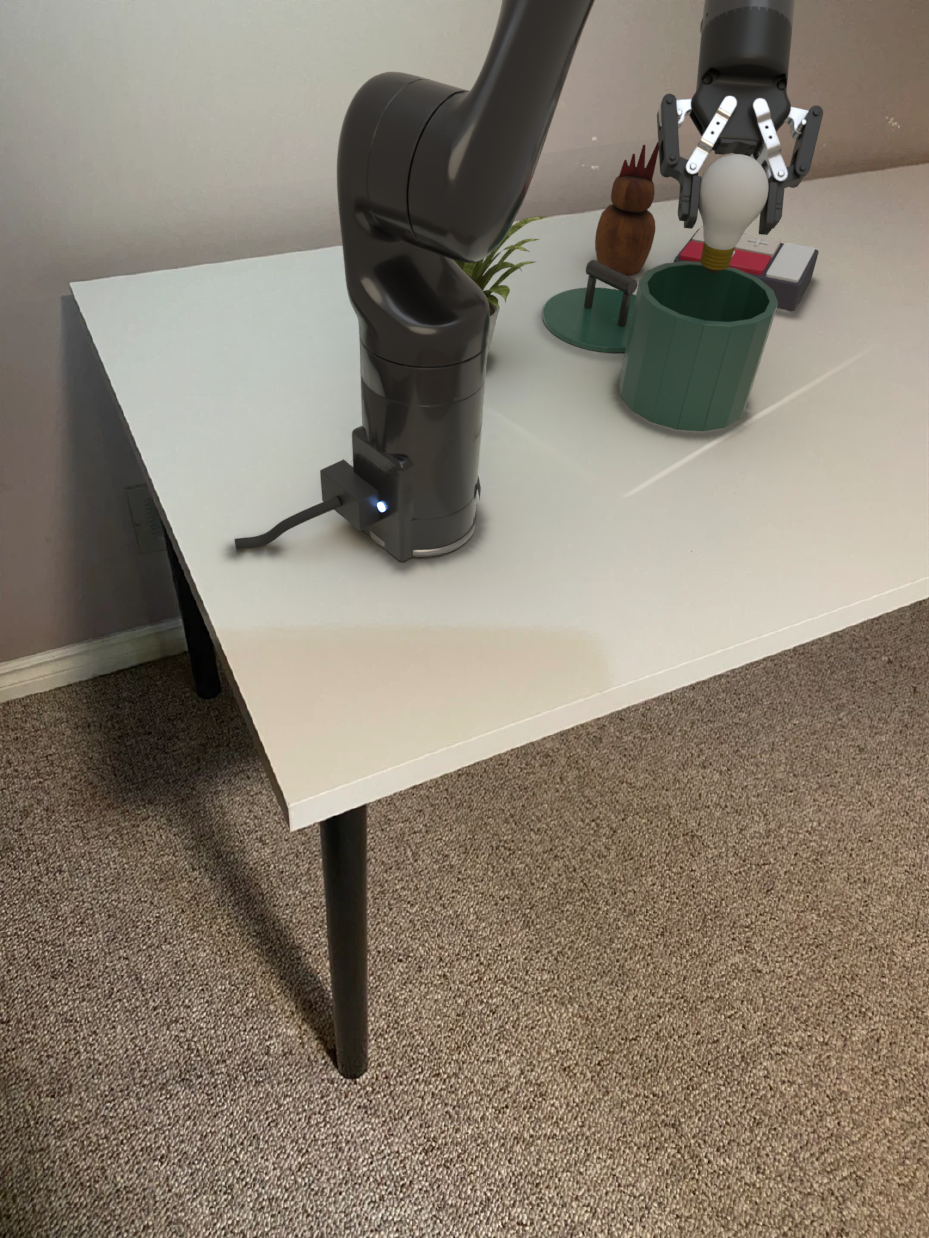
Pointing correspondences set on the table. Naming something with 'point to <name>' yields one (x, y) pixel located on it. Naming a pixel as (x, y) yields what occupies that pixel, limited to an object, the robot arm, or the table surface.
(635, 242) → the wooden figurine
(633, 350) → the tin
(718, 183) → the light bulb
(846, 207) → the table surface
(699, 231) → the calculator
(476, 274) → the house plant
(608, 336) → the lid
